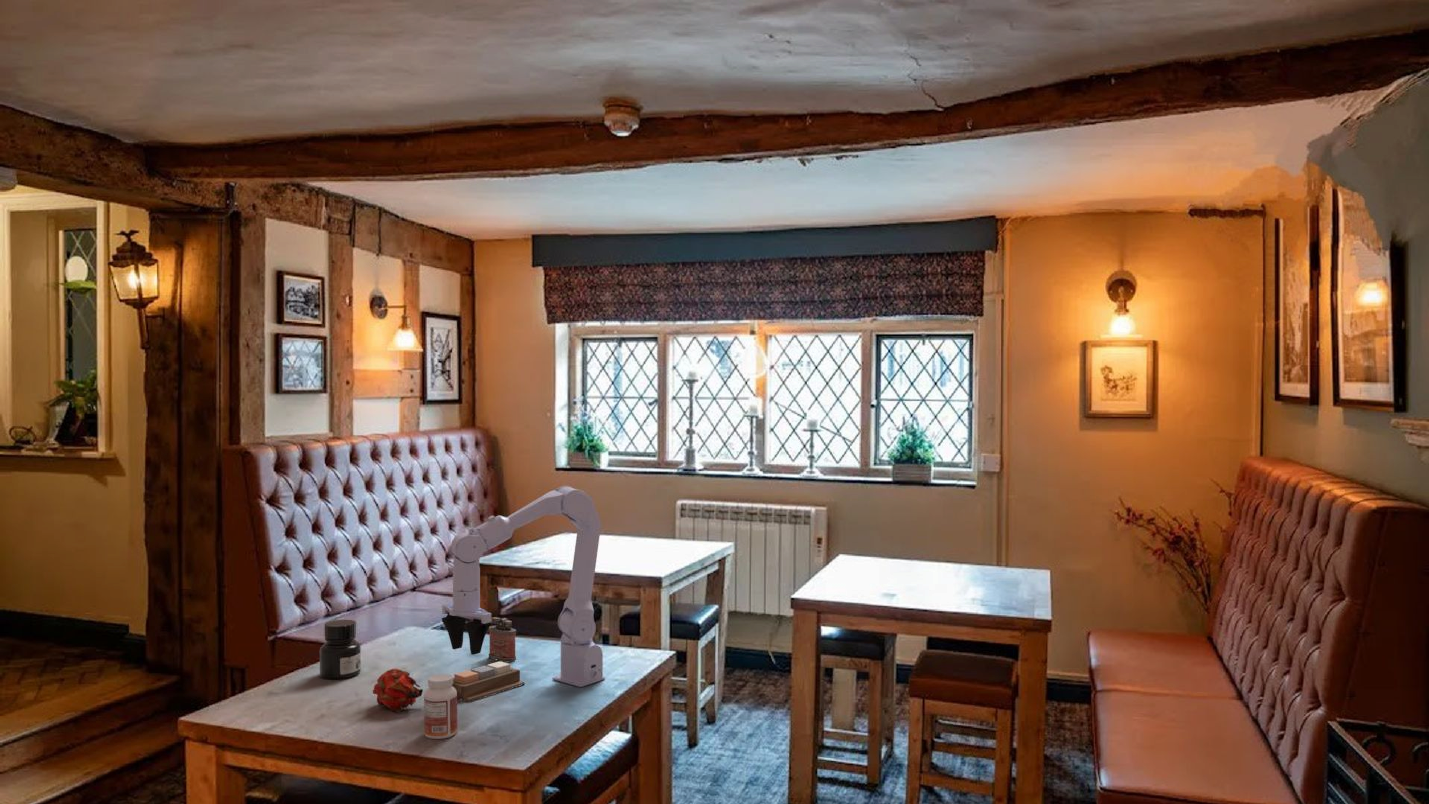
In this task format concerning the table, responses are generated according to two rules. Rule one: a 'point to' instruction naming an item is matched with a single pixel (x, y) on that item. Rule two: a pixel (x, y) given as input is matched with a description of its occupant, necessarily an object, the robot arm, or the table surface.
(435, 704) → the pill bottle
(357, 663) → the ink bottle
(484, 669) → the key slate
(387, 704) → the dragon fruit
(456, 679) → the key terracotta
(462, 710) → the table surface
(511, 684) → the keypad board
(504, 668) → the key cream
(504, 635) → the lighter
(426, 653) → the table surface
